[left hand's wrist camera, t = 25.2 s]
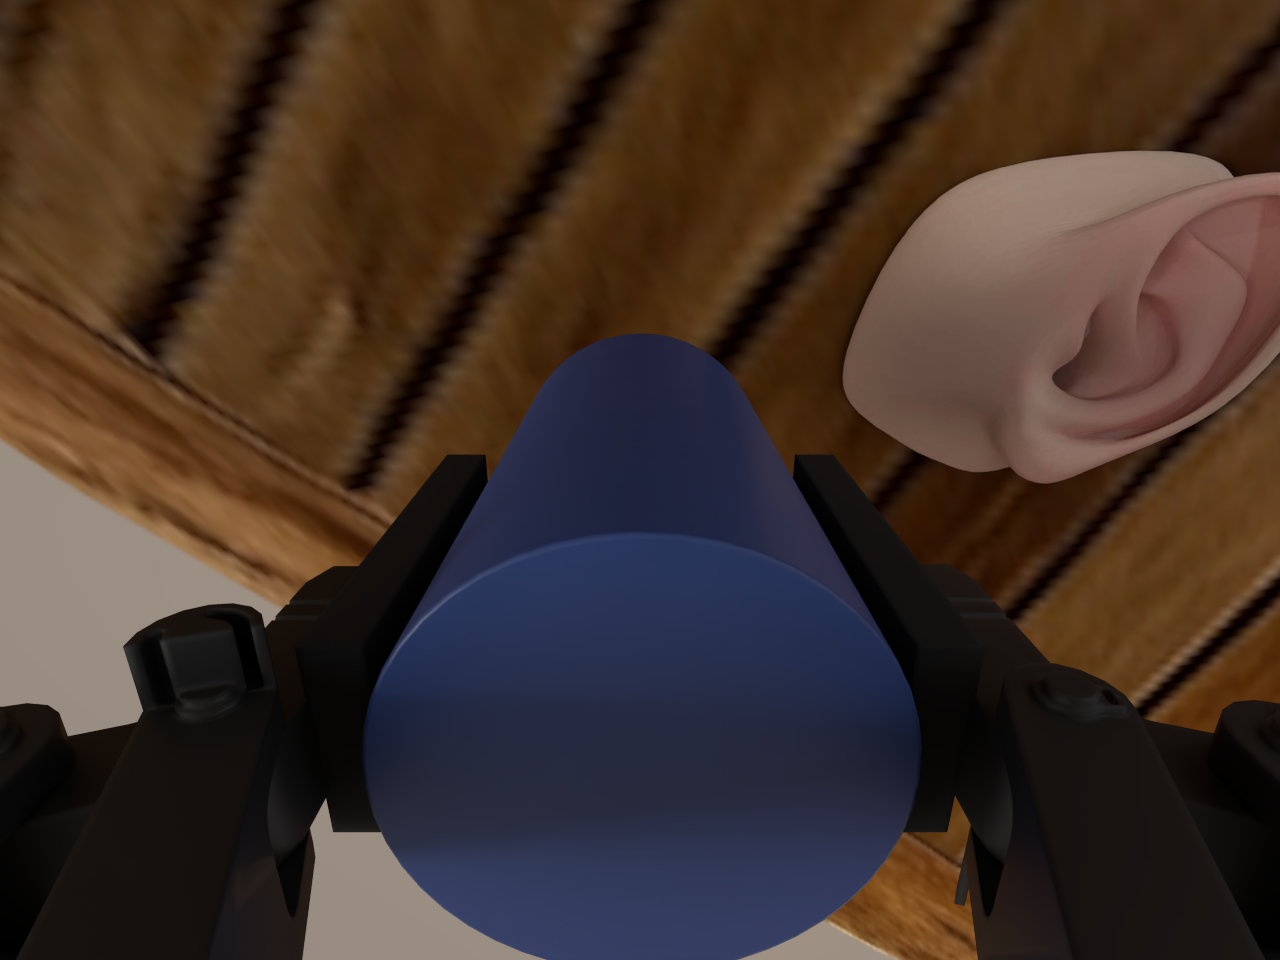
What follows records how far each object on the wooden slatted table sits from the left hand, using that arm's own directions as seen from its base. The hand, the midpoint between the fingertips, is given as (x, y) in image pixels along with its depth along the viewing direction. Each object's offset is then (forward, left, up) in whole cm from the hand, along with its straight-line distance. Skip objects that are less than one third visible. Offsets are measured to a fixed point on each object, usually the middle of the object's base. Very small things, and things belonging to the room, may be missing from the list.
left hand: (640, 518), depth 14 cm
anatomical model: (-9, +11, -13) cm, 19 cm away
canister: (0, 0, -5) cm, 5 cm away
